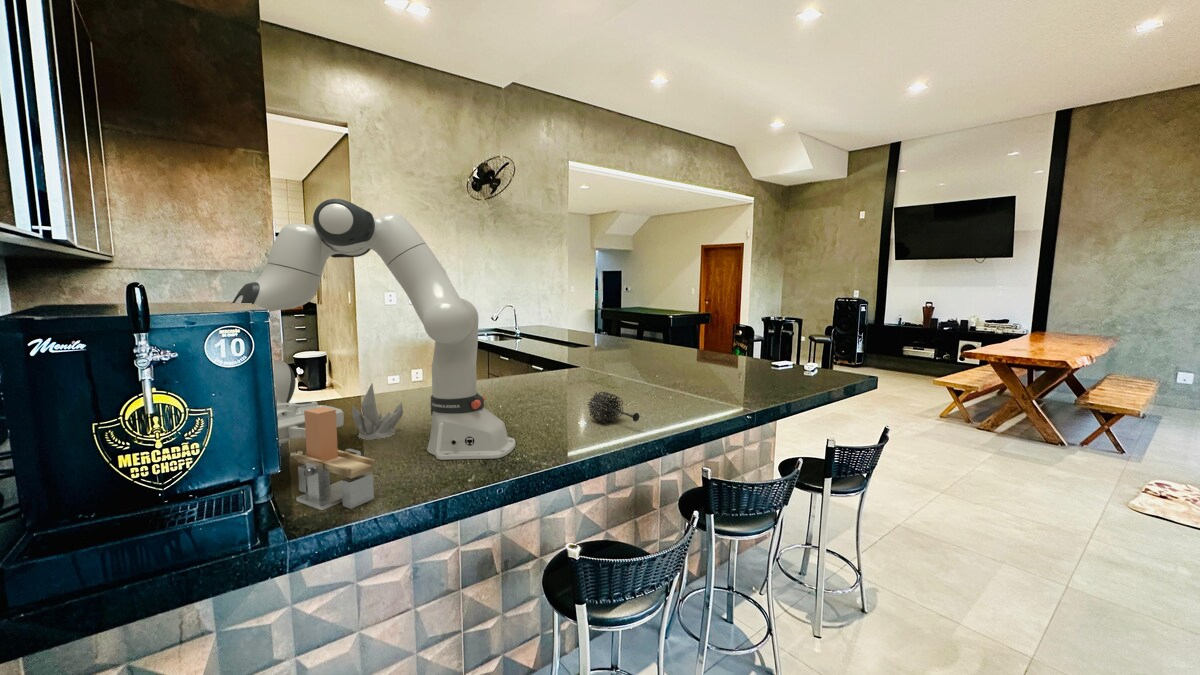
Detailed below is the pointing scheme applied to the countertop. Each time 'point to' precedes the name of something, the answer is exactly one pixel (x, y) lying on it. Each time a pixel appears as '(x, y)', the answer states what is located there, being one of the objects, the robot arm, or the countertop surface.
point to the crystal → (375, 419)
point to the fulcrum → (333, 487)
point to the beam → (342, 464)
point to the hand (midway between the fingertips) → (314, 432)
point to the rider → (321, 433)
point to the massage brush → (610, 406)
